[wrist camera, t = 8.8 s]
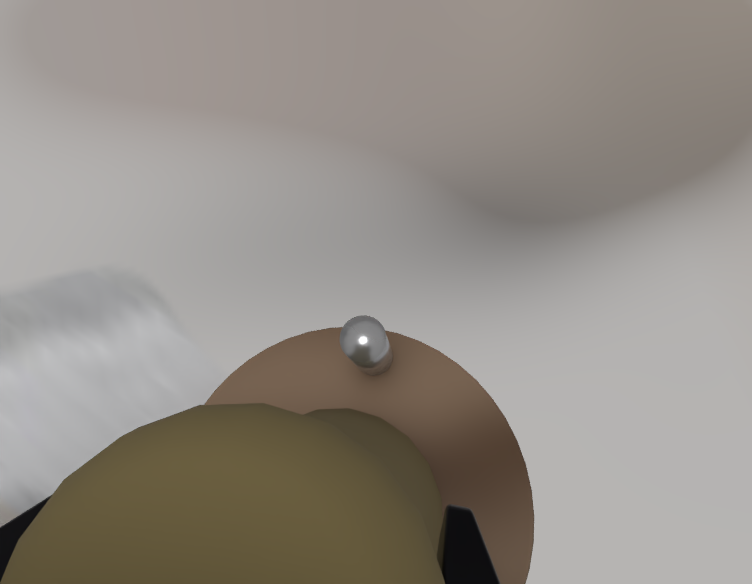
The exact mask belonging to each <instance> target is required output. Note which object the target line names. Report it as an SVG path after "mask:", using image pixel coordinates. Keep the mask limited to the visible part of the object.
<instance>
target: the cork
mask: <svg viewBox="0 0 752 584" xmlns="http://www.w3.org/2000/svg"><path fill="white" fill-rule="evenodd" d="M442 522H443V516H442V499H441V495H440V492H439V490H438V487H437V484H436V481H435V479H434V476H433V473H432V471H431V468H430V465H429V463H428V462H427V461H426V459H425V458H424V457H423V455H422V454H421V453H420V451H419V450H418V449H417V448H416V446H415V445H414V444H413V442H412V441H411V440H410V438H409V437H408V436H407V435H405V434H404V433H402V432H401V431H399V430H398V429H396V428H395V427H394V426H392V425H391V424H389V423H388V422H386V421H385V420H384V419H382V418H381V417H377V416H374V415H370V414H367V413H364V412H360V411H357V410H354V409H350V408H343V409H317V410H314V411H311V412H309V413H306V414H303V415H302V414H298V413H295V412H292V411H288V410H285V409H282V408H278V407H275V406H272V405H268V404H265V403H248V404H220V405H199V406H196V407H193V408H191V409H188V410H185V411H183V412H180V413H177V414H174V415H172V416H169V417H166V418H163V419H161V420H158V421H155V422H153V423H150V424H147V425H144V426H142V427H139V428H137V429H135V430H133V431H131V432H129V433H127V434H125V435H123V436H122V437H120V438H119V439H117V440H116V441H115V442H113V443H112V444H111V445H109V446H108V447H107V448H105V449H104V450H103V451H101V452H100V453H99V454H97V455H96V456H95V457H93V458H92V459H91V460H89V461H88V462H87V463H85V464H84V465H83V466H82V467H80V468H79V469H78V470H76V471H75V472H74V473H72V474H71V475H70V476H68V477H67V478H66V479H64V480H63V482H62V483H61V484H60V486H59V487H58V488H57V490H56V491H55V492H54V494H53V495H52V496H51V497H50V499H49V500H48V501H47V503H46V504H45V505H44V507H43V508H42V509H41V511H40V512H39V513H38V515H37V516H36V517H35V519H34V520H33V521H32V523H31V524H30V525H29V526H28V528H27V529H26V530H25V532H24V533H23V534H22V536H21V537H20V538H19V540H18V542H17V544H16V547H15V549H14V551H13V553H12V555H11V558H10V560H9V562H8V565H7V567H6V570H5V572H4V575H3V577H2V580H1V582H0V584H445V581H444V578H443V575H442V572H441V569H440V566H439V563H438V561H437V550H438V543H439V537H440V532H441V527H442Z"/></svg>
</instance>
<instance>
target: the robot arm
mask: <svg viewBox="0 0 752 584" xmlns="http://www.w3.org/2000/svg"><path fill="white" fill-rule="evenodd" d="M51 496H52V495H51ZM51 496H49V497H48V498H46V499H45V500H43V501H41V502H40V503H38V504H37V505H35V506H34V507H32V508H30V509H29V510H27V511H26V512H24V513H22V514H21V515H19V516H18V517H16V518H14V519H13V520H11V521H10V522H8V523H6V524H5V525H3V526H2V527H0V582H1V580H2V577H3V575H4V572H5V570H6V567H7V565H8V562H9V560H10V558H11V555H12V553H13V551H14V549H15V547H16V544H17V542H18V540H19V538H20V537H21V536H22V534H23V533H24V532H25V530H26V529H27V528H28V526H29V525H30V524H31V523H32V521H33V520H34V519H35V517H36V516H37V515H38V513H39V512H40V511H41V509H42V508H43V507H44V505H45V504H46V503H47V501H48V500H49V499H50V497H51ZM437 561H438V563H439V566H440V569H441V572H442V575H443V578H444V581H445V584H501V583H500V581H499V578H498V575H497V573H496V570H495V568H494V565H493V562H492V560H491V557H490V555H489V552H488V549H487V547H486V544H485V541H484V539H483V536H482V534H481V531H480V528H479V526H478V523H477V521H476V518H475V515H474V513H473V511H472V510H471V509H470V508H468V507H463V506H458V505H453V504H449V505H447V506H446V509H445V513H444V518H443V522H442V527H441V532H440V537H439V543H438V550H437Z"/></svg>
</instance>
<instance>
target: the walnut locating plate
mask: <svg viewBox="0 0 752 584" xmlns="http://www.w3.org/2000/svg"><path fill="white" fill-rule="evenodd" d="M248 403H265V404H268V405H272V406H275V407H278V408H282V409H285V410H288V411H292V412H295V413H298V414H302V415H303V414H306V413H309V412H311V411H314V410H317V409H343V408H350V409H354V410H357V411H360V412H364V413H367V414H370V415H374V416H377V417H381V418H382V419H384V420H385V421H386V422H388V423H389V424H391V425H392V426H394V427H395V428H396V429H398V430H399V431H401V432H402V433H404V434H405V435H407V436H408V437H409V438H410V440H411V441H412V442H413V444H414V445H415V446H416V448H417V449H418V450H419V451H420V453H421V454H422V455H423V457H424V458H425V459H426V461H427V462H428V463H429V465H430V468H431V471H432V473H433V476H434V479H435V481H436V484H437V487H438V490H439V492H440V495H441V499H442V516H443V518H444V513H445V509H446V506H447V505H449V504H453V505H458V506H463V507H468V508H470V509H471V510H472V511H473V513H474V515H475V518H476V521H477V523H478V526H479V528H480V531H481V534H482V536H483V539H484V541H485V544H486V547H487V549H488V552H489V555H490V557H491V560H492V562H493V565H494V568H495V570H496V573H497V575H498V578H499V581H500V583H501V584H525V583H526V579H527V576H528V572H529V569H530V562H531V555H532V549H533V541H534V510H533V500H532V490H531V486H530V481H529V477H528V472H527V468H526V464H525V461H524V459H523V456H522V453H521V450H520V447H519V445H518V442H517V440H516V438H515V436H514V434H513V432H512V430H511V428H510V426H509V424H508V422H507V420H506V418H505V417H504V415H503V414H502V412H501V411H500V409H499V408H498V406H497V405H496V403H495V402H494V400H493V399H492V398H491V397H490V395H489V394H488V393H487V392H486V391H485V390H484V388H482V386H481V385H480V384H479V383H478V382H477V380H475V379H474V378H473V377H472V376H471V375H470V374H469V373H467V371H465V370H464V369H463V368H462V367H461V366H460V365H459V364H457V363H456V362H454V361H453V360H451V359H450V358H448V357H447V356H445V355H444V354H442V353H441V352H440V351H438V350H436V349H434V348H432V347H430V346H428V345H426V344H424V343H422V342H420V341H418V340H415V339H412V338H409V337H406V336H403V335H401V334H398V333H394V332H389V331H385V330H384V328H383V326H382V325H381V323H380V322H379V321H377V320H376V319H375V318H372V317H370V316H357V317H354V318H352V319H351V320H349V321H348V322H347V323H346V324H345V325H344V326H343V327H340V328H328V329H322V330H317V331H311V332H307V333H304V334H301V335H298V336H295V337H291V338H288V339H286V340H284V341H282V342H279V343H277V344H275V345H273V346H271V347H269V348H267V349H265V350H264V351H262V352H260V353H259V354H257V355H256V356H254V357H252V358H251V359H249V360H248V361H247V362H245V363H244V364H243V365H242V366H240V367H239V368H238V369H237V370H236V371H234V372H233V373H232V374H231V375H230V376H229V377H228V378H227V379H226V380H225V381H224V382H223V383H222V384H221V385H220V386H219V387H218V388H217V389H216V390H215V391H214V393H213V394H212V395H211V397H210V398H209V399H208V401H207V402H206V403H205V405H220V404H248Z"/></svg>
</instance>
